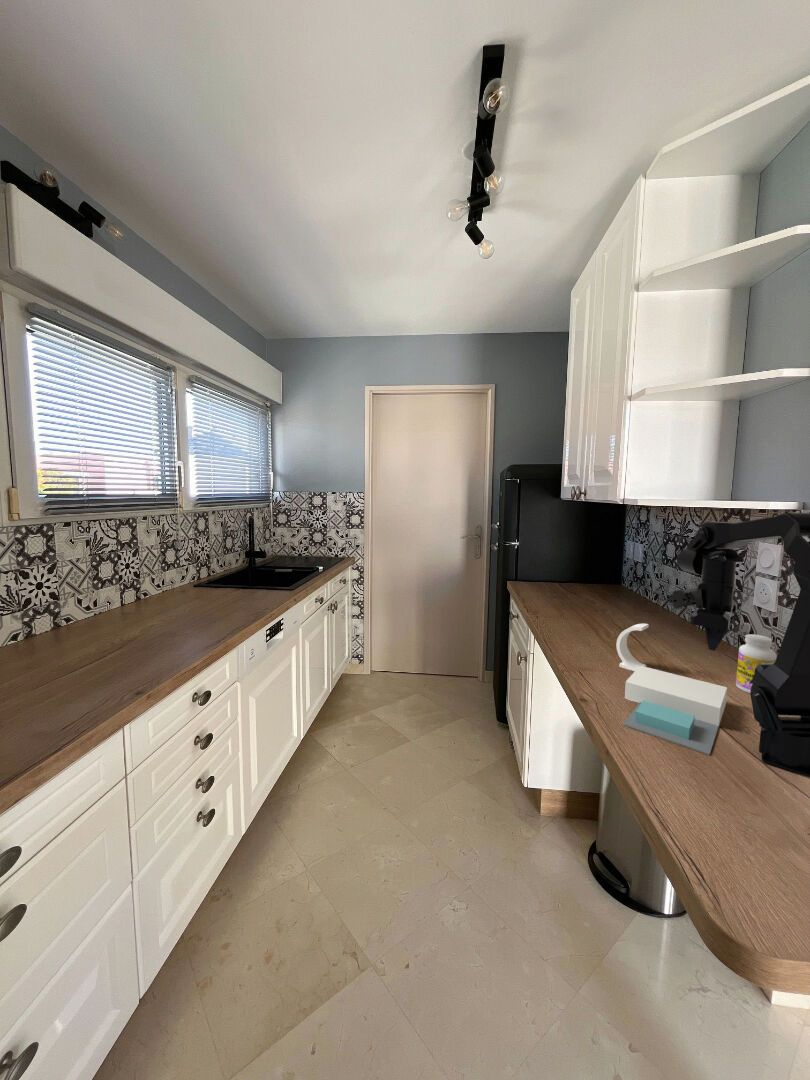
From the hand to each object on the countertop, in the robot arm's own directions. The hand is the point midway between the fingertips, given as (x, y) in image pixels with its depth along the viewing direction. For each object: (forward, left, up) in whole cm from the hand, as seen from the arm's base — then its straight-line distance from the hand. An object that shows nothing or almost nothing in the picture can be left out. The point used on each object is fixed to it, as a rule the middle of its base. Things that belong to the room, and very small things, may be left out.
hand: (712, 649), depth 90 cm
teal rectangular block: (+5, +18, -10) cm, 21 cm away
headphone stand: (+18, -9, -12) cm, 24 cm away
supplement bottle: (-7, -14, -12) cm, 20 cm away
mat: (+4, +17, -12) cm, 21 cm away
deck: (+5, +5, -12) cm, 14 cm away
